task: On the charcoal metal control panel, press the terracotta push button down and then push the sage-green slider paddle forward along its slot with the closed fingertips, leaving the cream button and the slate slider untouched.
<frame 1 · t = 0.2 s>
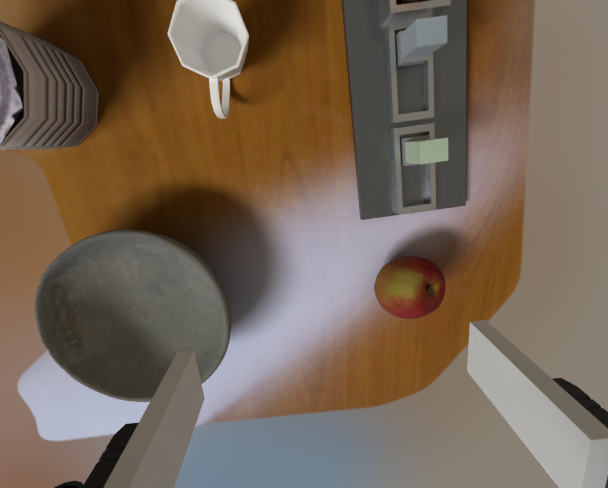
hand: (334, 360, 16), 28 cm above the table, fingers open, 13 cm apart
bowl: (159, 293, 44), on the table
slider sage: (422, 150, 36), point 4 cm above the table, slide at 0.0 cm
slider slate: (419, 41, 33), point 4 cm above the table, slide at 0.0 cm
panel: (404, 63, 37), on the table
can: (49, 97, 37), on the table
apple: (398, 274, 45), on the table
cup: (226, 73, 37), on the table
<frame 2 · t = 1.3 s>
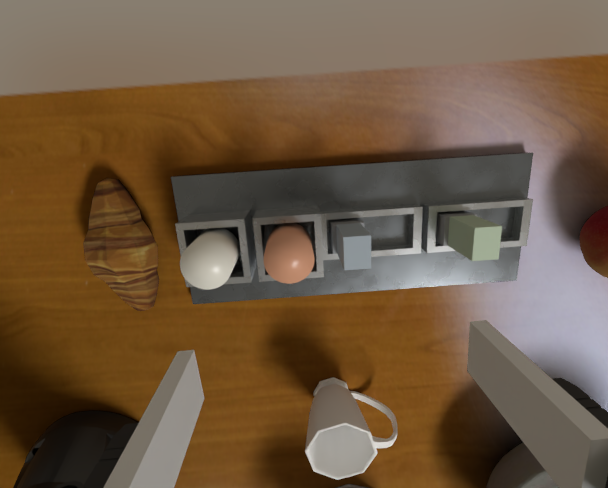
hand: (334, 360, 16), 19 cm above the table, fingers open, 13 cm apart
bowl: (533, 464, 44), on the table
button terracotta: (289, 251, 28), point 6 cm above the table, slide at 0.0 cm
slider sage: (467, 234, 30), point 4 cm above the table, slide at 0.0 cm
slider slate: (350, 242, 30), point 4 cm above the table, slide at 0.0 cm
croissant: (133, 243, 34), on the table
button cream: (212, 256, 28), point 6 cm above the table, slide at 0.0 cm
panel: (353, 229, 34), on the table
apple: (593, 230, 35), on the table
cup: (343, 392, 40), on the table
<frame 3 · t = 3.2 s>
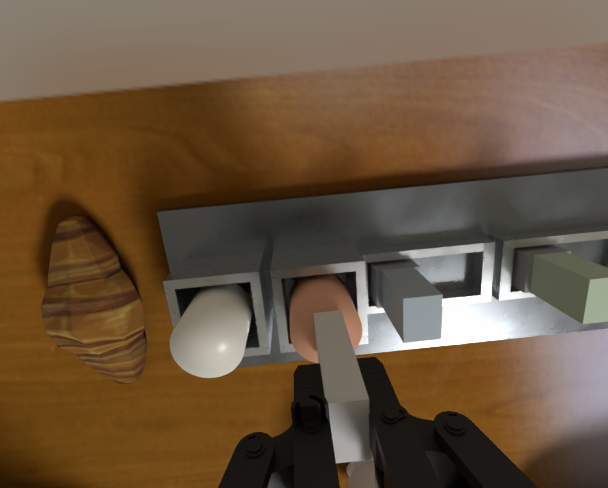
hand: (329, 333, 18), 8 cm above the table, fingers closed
button terracotta: (322, 313, 20), point 6 cm above the table, slide at 0.2 cm, touching gripper
slider sage: (562, 279, 22), point 4 cm above the table, slide at 0.0 cm
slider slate: (404, 295, 22), point 4 cm above the table, slide at 0.0 cm
croissant: (113, 296, 26), on the table
button cream: (216, 325, 20), point 6 cm above the table, slide at 0.0 cm
panel: (398, 270, 26), on the table
cup: (383, 466, 32), on the table
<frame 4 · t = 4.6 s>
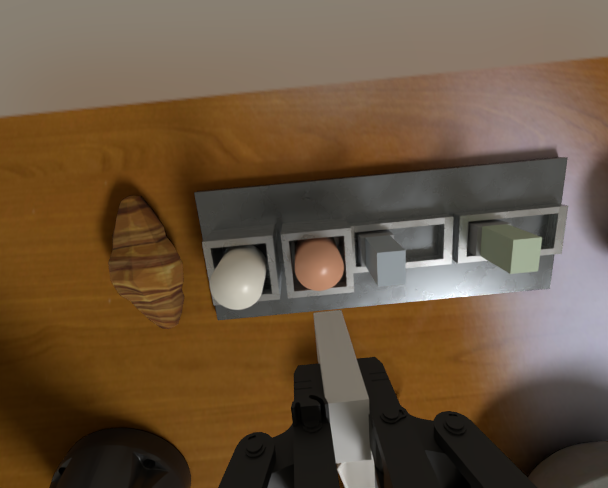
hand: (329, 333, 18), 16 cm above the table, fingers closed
bowl: (565, 473, 43), on the table
button terracotta: (317, 259, 29), point 4 cm above the table, slide at 2.0 cm
slider sage: (502, 244, 29), point 4 cm above the table, slide at 0.0 cm
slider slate: (381, 255, 29), point 4 cm above the table, slide at 0.0 cm
croissant: (156, 260, 33), on the table
button cream: (240, 274, 27), point 6 cm above the table, slide at 0.0 cm
panel: (380, 240, 33), on the table
cup: (370, 404, 39), on the table
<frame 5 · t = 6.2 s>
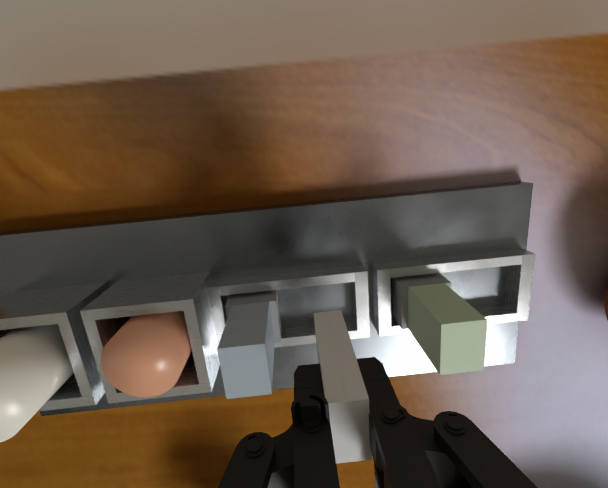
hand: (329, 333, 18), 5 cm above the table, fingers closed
button terracotta: (157, 340, 19), point 4 cm above the table, slide at 2.0 cm
slider sage: (435, 316, 19), point 4 cm above the table, slide at 0.0 cm
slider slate: (251, 336, 19), point 4 cm above the table, slide at 0.0 cm
button cream: (16, 375, 17), point 6 cm above the table, slide at 0.0 cm
panel: (272, 300, 23), on the table
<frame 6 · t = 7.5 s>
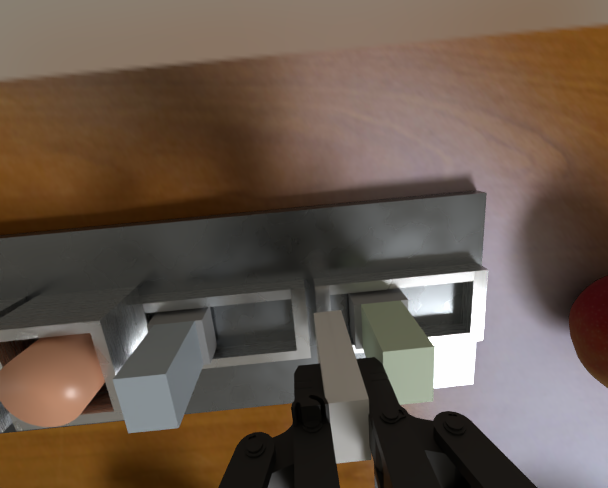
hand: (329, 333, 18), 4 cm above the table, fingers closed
button terracotta: (71, 362, 18), point 4 cm above the table, slide at 2.0 cm
slider sage: (388, 337, 17), point 4 cm above the table, slide at 0.8 cm, touching gripper
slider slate: (171, 359, 17), point 4 cm above the table, slide at 0.0 cm
panel: (210, 316, 21), on the table
apple: (590, 303, 23), on the table
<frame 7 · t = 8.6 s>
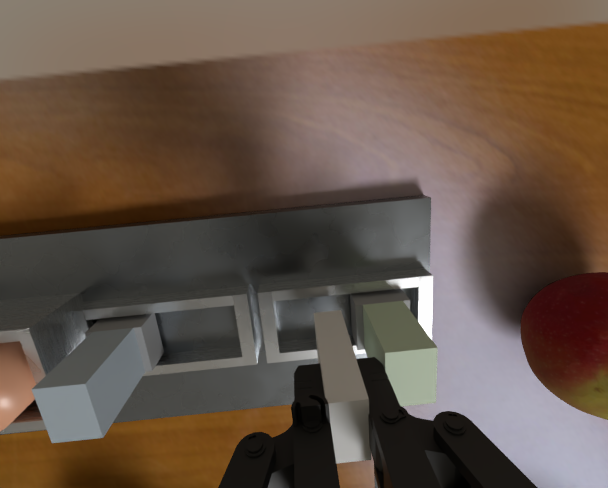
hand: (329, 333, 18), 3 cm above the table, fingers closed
button terracotta: (8, 370, 18), point 4 cm above the table, slide at 2.0 cm
slider sage: (390, 338, 17), point 4 cm above the table, slide at 4.1 cm, touching gripper
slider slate: (106, 367, 17), point 4 cm above the table, slide at 0.0 cm
panel: (158, 322, 21), on the table
apple: (545, 308, 22), on the table
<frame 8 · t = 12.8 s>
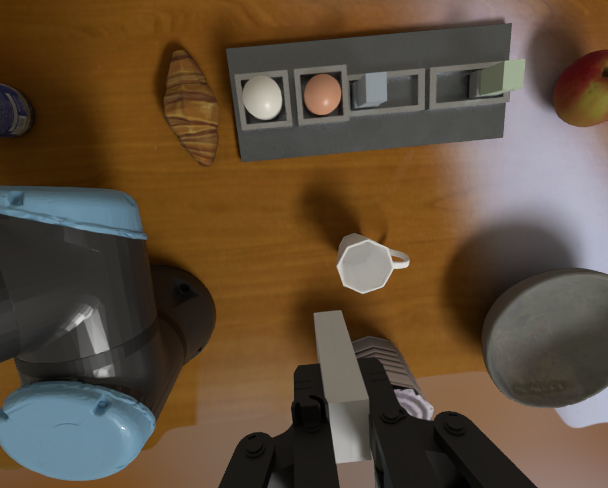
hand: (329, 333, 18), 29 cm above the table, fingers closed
bowl: (524, 316, 52), on the table
button terracotta: (321, 97, 38), point 4 cm above the table, slide at 2.0 cm
slider sage: (496, 80, 38), point 4 cm above the table, slide at 4.1 cm
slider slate: (369, 91, 38), point 4 cm above the table, slide at 0.0 cm
croissant: (196, 112, 42), on the table
button cream: (263, 99, 36), point 6 cm above the table, slide at 0.0 cm
panel: (369, 96, 42), on the table
can: (368, 365, 54), on the table
apple: (564, 95, 43), on the table
cup: (363, 247, 48), on the table
pill bottle: (11, 112, 41), on the table
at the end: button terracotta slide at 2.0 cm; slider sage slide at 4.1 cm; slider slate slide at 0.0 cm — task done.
